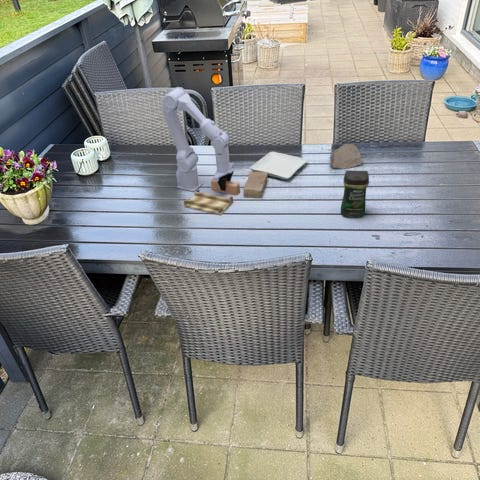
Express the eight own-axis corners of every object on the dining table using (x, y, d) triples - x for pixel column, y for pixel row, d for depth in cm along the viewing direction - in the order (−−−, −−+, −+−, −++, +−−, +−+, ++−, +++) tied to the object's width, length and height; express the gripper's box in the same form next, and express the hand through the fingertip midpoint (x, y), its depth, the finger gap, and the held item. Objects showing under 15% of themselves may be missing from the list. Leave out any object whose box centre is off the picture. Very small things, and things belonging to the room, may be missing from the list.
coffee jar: (340, 218, 178) (344, 176, 167) (340, 207, 184) (343, 167, 173) (366, 219, 176) (371, 177, 165) (364, 208, 183) (369, 167, 172)
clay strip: (211, 189, 203) (210, 181, 201) (215, 186, 205) (214, 177, 203) (236, 195, 198) (235, 186, 195) (239, 192, 200) (239, 183, 197)
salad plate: (309, 165, 218) (309, 158, 216) (288, 184, 204) (288, 177, 202) (271, 156, 228) (270, 150, 225) (249, 174, 213) (248, 168, 211)
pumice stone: (331, 170, 211) (332, 150, 205) (328, 162, 217) (329, 143, 211) (363, 168, 211) (365, 148, 205) (359, 160, 217) (361, 141, 211)
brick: (261, 199, 194) (261, 189, 192) (242, 198, 196) (242, 188, 193) (268, 181, 207) (267, 171, 205) (250, 180, 209) (249, 171, 206)
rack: (184, 207, 193) (183, 201, 191) (198, 194, 200) (197, 189, 199) (220, 215, 185) (220, 209, 183) (233, 202, 193) (232, 196, 191)
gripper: (222, 169, 186) (225, 197, 194) (238, 154, 196) (240, 182, 204) (208, 166, 189) (211, 194, 197) (224, 152, 199) (227, 179, 207)
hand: (225, 188), depth 201 cm, fingers closed on clay strip, 3 cm apart
